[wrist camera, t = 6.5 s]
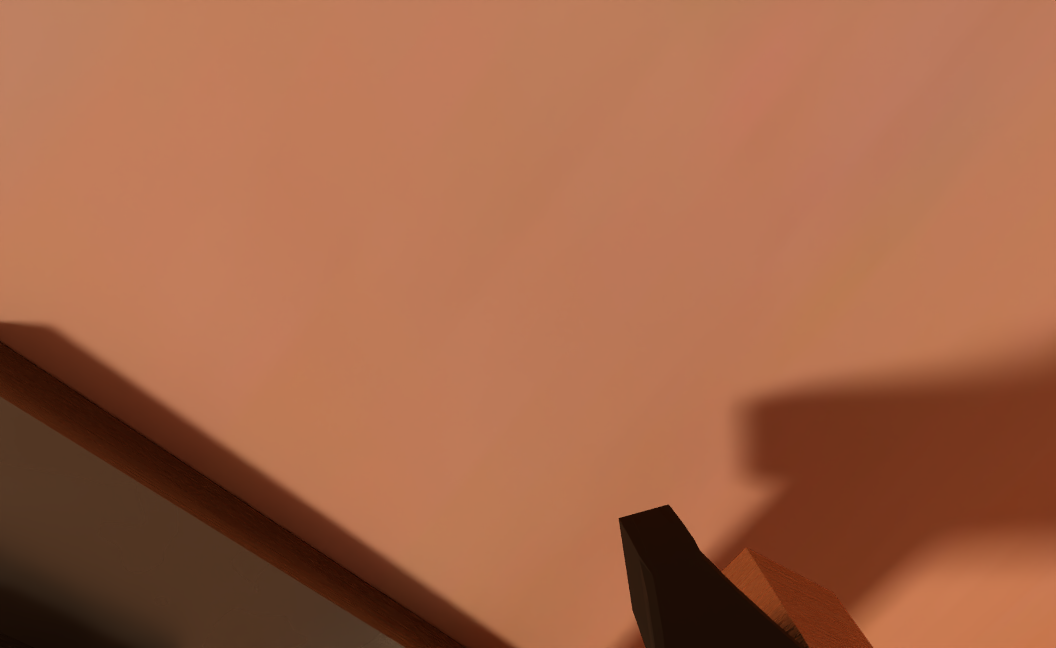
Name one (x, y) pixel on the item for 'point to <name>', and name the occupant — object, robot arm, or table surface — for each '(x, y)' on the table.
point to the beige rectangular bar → (795, 603)
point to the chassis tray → (155, 546)
